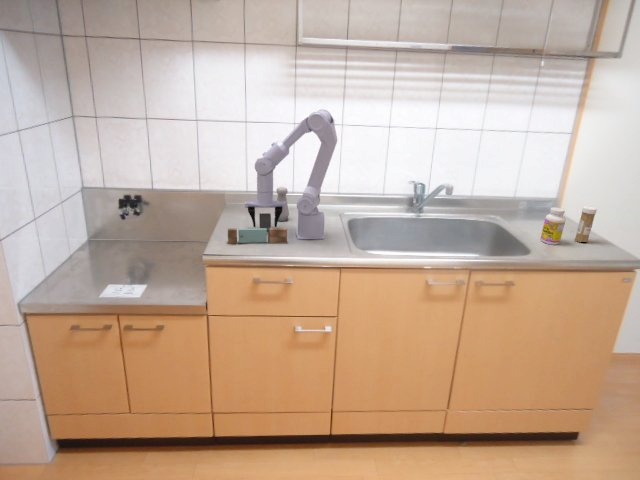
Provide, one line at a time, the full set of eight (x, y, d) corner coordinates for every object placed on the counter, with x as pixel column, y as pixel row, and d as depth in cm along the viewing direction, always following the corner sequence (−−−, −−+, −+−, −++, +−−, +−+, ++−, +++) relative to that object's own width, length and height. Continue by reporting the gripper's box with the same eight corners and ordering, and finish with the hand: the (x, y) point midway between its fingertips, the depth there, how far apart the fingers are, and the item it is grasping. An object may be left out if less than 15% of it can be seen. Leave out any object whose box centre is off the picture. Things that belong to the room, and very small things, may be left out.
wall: (286, 241, 158) (286, 226, 156) (287, 243, 156) (287, 228, 154) (228, 242, 154) (227, 227, 152) (228, 244, 153) (227, 229, 151)
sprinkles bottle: (587, 244, 168) (597, 210, 163) (573, 241, 170) (583, 207, 165) (587, 240, 172) (597, 207, 167) (574, 238, 174) (583, 204, 169)
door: (266, 241, 156) (266, 228, 154) (266, 243, 154) (266, 230, 153) (238, 241, 155) (238, 228, 153) (238, 243, 153) (238, 230, 151)
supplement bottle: (535, 239, 170) (543, 207, 166) (549, 238, 173) (557, 205, 168) (549, 246, 165) (558, 212, 160) (563, 244, 167) (572, 211, 162)
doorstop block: (270, 228, 169) (270, 213, 167) (270, 232, 165) (270, 216, 163) (259, 228, 168) (259, 213, 166) (259, 232, 165) (259, 216, 162)
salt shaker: (290, 217, 181) (290, 186, 176) (287, 222, 176) (288, 190, 171) (275, 216, 182) (276, 185, 177) (272, 221, 176) (273, 189, 172)
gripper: (284, 187, 166) (283, 222, 171) (244, 187, 164) (245, 222, 169) (286, 192, 159) (285, 228, 164) (244, 192, 157) (245, 229, 162)
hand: (265, 226), depth 166 cm, fingers open, 7 cm apart
